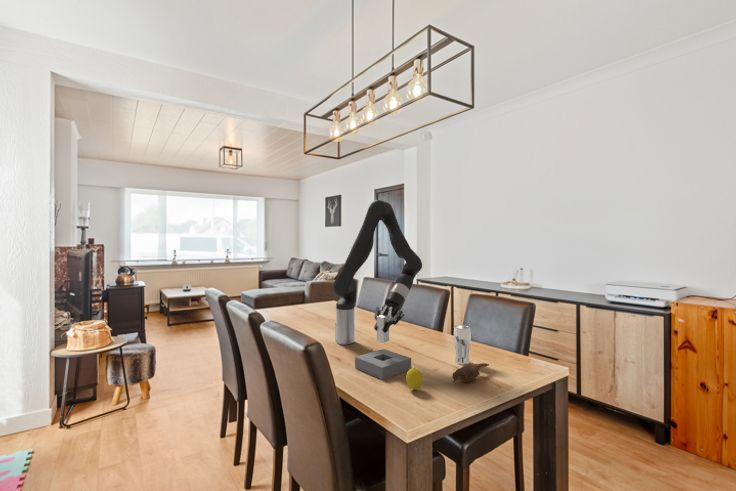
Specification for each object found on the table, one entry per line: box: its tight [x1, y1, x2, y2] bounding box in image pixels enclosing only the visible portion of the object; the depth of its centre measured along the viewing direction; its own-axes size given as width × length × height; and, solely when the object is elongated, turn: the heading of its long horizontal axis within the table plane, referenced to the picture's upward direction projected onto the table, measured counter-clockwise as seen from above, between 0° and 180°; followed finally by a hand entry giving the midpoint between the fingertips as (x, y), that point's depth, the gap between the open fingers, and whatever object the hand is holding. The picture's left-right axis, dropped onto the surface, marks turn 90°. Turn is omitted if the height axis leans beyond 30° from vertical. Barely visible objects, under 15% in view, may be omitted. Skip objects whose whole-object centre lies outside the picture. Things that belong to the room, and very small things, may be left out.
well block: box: [354, 348, 412, 381], centre depth 144 cm, size 16×16×4 cm
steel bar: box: [376, 315, 390, 344], centre depth 144 cm, size 4×4×10 cm
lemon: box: [405, 366, 423, 391], centre depth 124 cm, size 6×6×8 cm
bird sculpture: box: [452, 362, 490, 384], centre depth 133 cm, size 7×25×5 cm, turn 134°
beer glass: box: [453, 324, 472, 366], centre depth 151 cm, size 7×7×15 cm
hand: (379, 330), depth 143 cm, fingers closed on steel bar, 3 cm apart
